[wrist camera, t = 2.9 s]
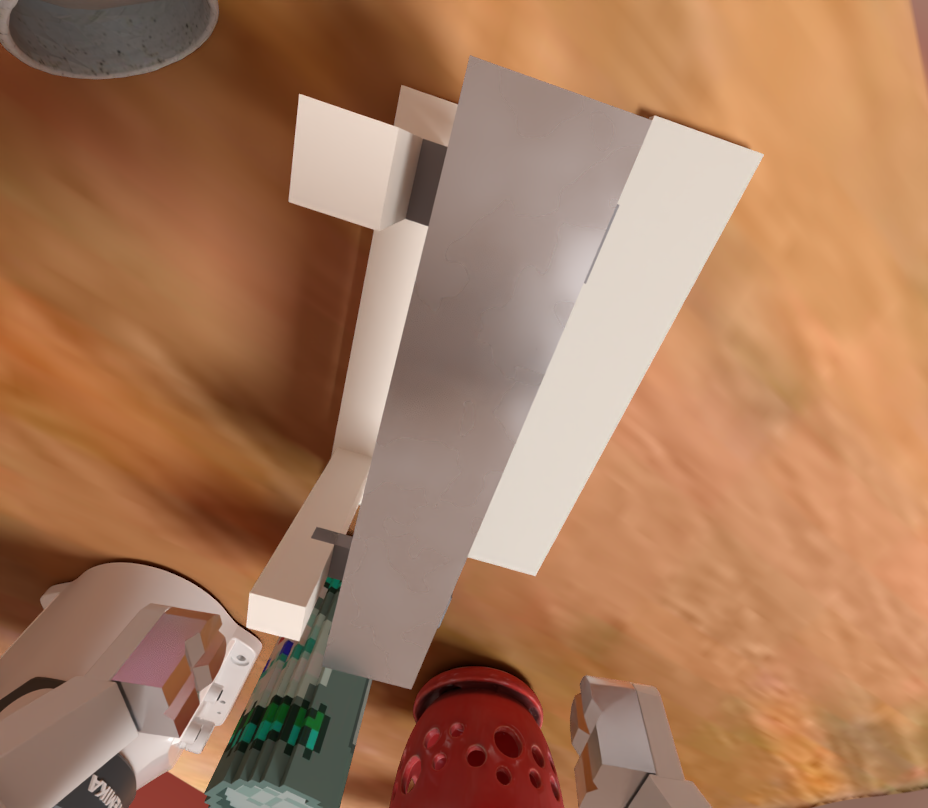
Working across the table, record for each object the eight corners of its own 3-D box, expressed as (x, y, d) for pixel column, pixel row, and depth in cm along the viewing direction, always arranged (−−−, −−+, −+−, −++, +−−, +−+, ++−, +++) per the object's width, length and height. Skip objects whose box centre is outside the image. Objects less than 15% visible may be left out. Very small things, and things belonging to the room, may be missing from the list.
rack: (464, 526, 32) (444, 702, 21) (328, 487, 31) (237, 649, 21) (611, 159, 21) (724, 144, 10) (405, 87, 20) (295, -9, 9)
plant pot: (521, 745, 45) (527, 924, 34) (396, 711, 44) (362, 885, 33) (578, 674, 39) (607, 863, 28) (435, 632, 38) (408, 813, 27)
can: (349, 525, 33) (244, 765, 19) (413, 568, 34) (356, 818, 21) (305, 566, 35) (185, 806, 22) (367, 605, 37) (290, 851, 23)
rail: (422, 625, 24) (411, 689, 21) (344, 604, 24) (321, 666, 21) (618, 132, 13) (652, 120, 10) (477, 83, 13) (470, 55, 10)
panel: (534, 567, 33) (535, 576, 32) (468, 548, 33) (467, 556, 32) (754, 155, 20) (764, 154, 20) (649, 117, 20) (654, 115, 19)
